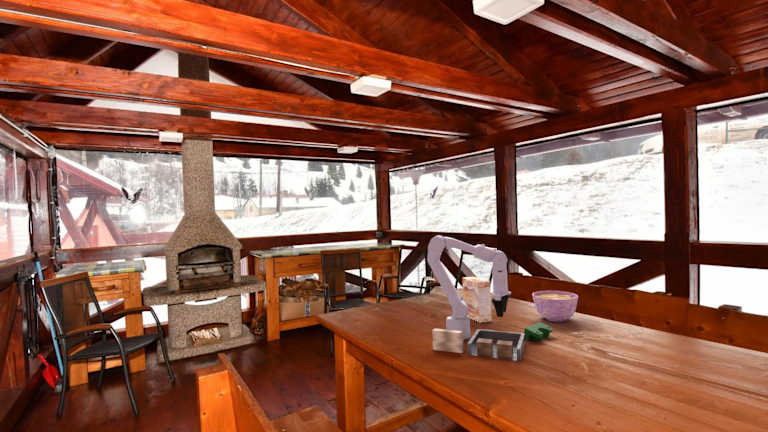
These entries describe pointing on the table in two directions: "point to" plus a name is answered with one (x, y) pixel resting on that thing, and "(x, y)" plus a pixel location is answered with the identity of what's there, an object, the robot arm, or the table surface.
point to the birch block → (447, 340)
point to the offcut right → (504, 349)
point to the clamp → (537, 331)
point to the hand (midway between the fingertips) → (501, 314)
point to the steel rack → (514, 337)
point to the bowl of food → (555, 304)
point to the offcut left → (485, 346)
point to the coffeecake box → (477, 298)
